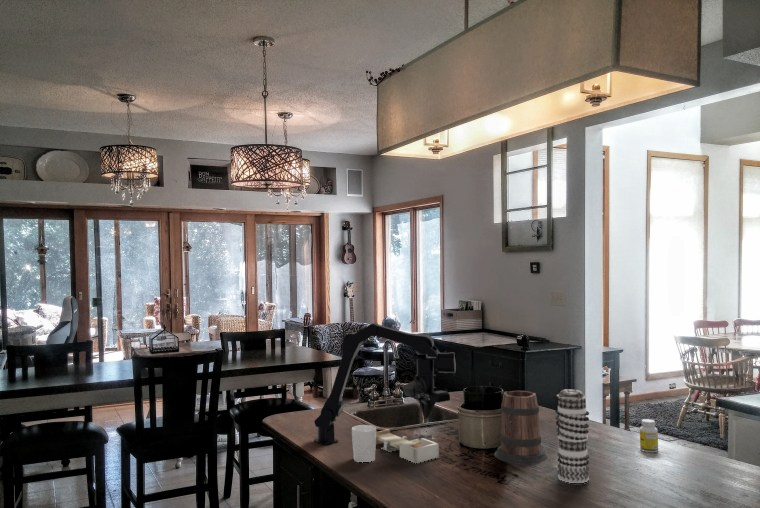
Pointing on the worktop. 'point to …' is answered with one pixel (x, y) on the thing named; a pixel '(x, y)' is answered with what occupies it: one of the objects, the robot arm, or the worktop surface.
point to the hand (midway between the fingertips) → (426, 418)
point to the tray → (420, 451)
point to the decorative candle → (572, 436)
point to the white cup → (364, 443)
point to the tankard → (520, 429)
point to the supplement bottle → (648, 436)
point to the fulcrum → (389, 447)
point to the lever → (397, 440)
